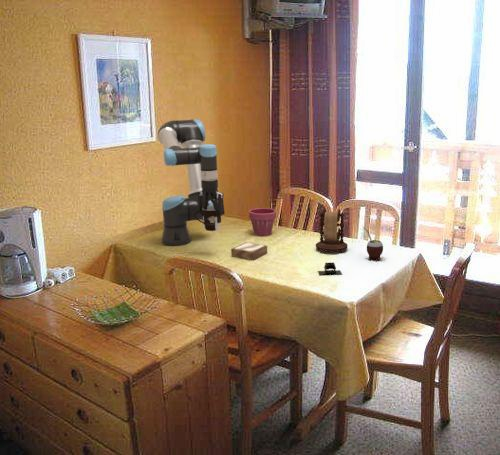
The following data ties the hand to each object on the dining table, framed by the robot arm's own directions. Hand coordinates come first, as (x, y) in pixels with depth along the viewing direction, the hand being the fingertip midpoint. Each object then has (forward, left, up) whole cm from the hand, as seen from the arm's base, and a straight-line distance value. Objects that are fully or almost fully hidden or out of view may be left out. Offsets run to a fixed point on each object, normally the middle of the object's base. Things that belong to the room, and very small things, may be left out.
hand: (211, 228), depth 234 cm
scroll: (+45, +33, -13) cm, 57 cm away
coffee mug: (-1, 0, -1) cm, 2 cm away
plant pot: (+1, +42, -13) cm, 44 cm away
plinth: (+15, +8, -13) cm, 21 cm away
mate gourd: (+67, +29, -13) cm, 74 cm away
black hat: (+58, +3, -14) cm, 60 cm away
